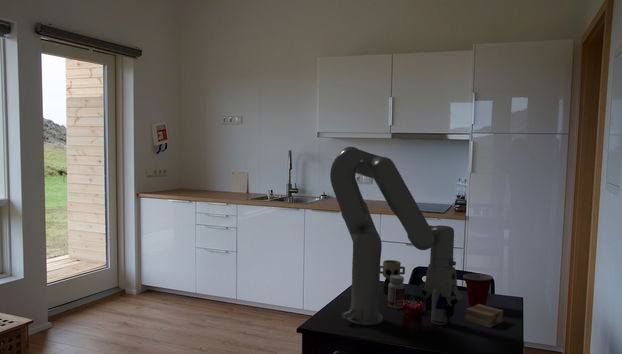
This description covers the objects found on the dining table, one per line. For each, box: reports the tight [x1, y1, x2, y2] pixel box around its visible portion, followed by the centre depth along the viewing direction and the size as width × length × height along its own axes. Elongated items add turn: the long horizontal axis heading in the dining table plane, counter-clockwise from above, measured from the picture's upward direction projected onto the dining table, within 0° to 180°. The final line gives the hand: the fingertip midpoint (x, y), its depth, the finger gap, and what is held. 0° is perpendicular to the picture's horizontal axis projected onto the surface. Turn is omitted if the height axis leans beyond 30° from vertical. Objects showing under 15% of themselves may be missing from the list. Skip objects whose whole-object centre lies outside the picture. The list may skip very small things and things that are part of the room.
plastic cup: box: [462, 273, 494, 308], centre depth 182 cm, size 11×11×12 cm
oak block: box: [465, 304, 504, 328], centre depth 166 cm, size 9×9×4 cm
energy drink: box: [430, 289, 448, 326], centre depth 163 cm, size 5×5×12 cm
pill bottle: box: [387, 274, 406, 310], centre depth 179 cm, size 6×6×11 cm
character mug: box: [380, 259, 406, 294], centre depth 196 cm, size 11×7×13 cm, turn 86°
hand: (439, 312), depth 163 cm, fingers open, 7 cm apart
